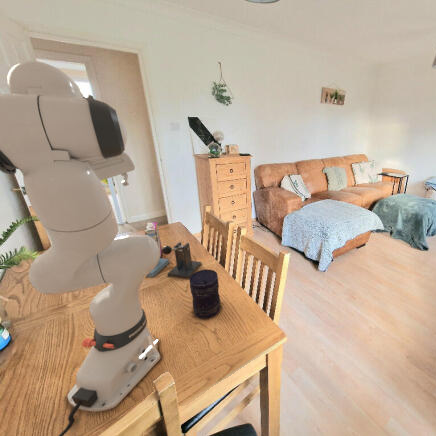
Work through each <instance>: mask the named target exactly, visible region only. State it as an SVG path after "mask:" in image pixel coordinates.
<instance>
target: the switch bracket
mask: <svg viewBox="0 0 436 436" xmlns="http://www.w3.org/2000/svg"><path fill="white" fill-rule="evenodd" d="M179 245H182V242H181V241H178V243H175V245H174V246H173V248H177V247H178V246H179ZM174 257H175V263H176V265H175V266H174V267H172V269H171V270H170V271H168V273H167V276H168V277H171V278H178V279H179V278H180V279H186V280H188V279H190V277H191V275H192V274H194V273H195V272H197V270H198V269H199V268H200V267H201V265H202V261H198V260H192V253H191V246H190V242H186V243H185V244H184V246H183V247H182V251H178V250H175V251H174Z"/></svg>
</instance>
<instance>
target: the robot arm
mask: <svg viewBox="0 0 436 436" xmlns="http://www.w3.org/2000/svg"><path fill="white" fill-rule="evenodd" d="M6 83H7V87H8V90H9V92H10V93H1V94H0V172H2V173H4V174H7V175H12V176H13V175H15V174H16V173H17V170H19V171H20V173H22V177H23V186H24V189H25V192H26V196H27V199H28V202H29V204H30V206H31V208H32V210H33V212H34V215H35V216H36V218H37V219H38V221H39V222H40V224H41V225H42V227H43V228H44V230H45V231H46V233H47V235H48V236H49V239H50V241H51V246H50V247H49V248H48V249H46V250H45V251H44V252H43V253H41V254H39V255H38V256H36V257H35V258H34V260H33V261H32V262H31V264H30V266H29V270H28V280H29V282H30V284H31V286H32V288H34V289H35V290H36V291H37V292H39V293H41V294H43V295H46V296H53V295H61V294H70V293H76V292H79V291H83V290H87V289H91V288H94V287H95V288H96V287H99V286H103V285H106V284H108V285H107V286H106V287H104V288H103V289H101V290H100V291H98V293H96V295H94V297H93V298H92V300H91V301H90V303H89V307H88V312H89V315H90V317H91V320H92V324H93V325H94V329H93V330H94V331H93V338H89V337H86V338H85V339H83V340H82V343H81V346H82V347H84V348H90V350H89V351H88V353H87V355H86V356H85V358H84V360H83V361H82V363H81V365H80V367H79V369H78V371H76V375H75V384H74V385H73V387H72V388H71V389H70V391H68V394H67V401H68V403H69V404H70V406H72V407H73V408H72V409H71V411H70V412H69V415H68V418H67V420H68V424H67V426H66V427H65V428H64V430H63V431H62V432H61V433H59V435H58V436H64V435H65V434H66V433H67V432H68V431H70V429H71V428H72V426H73V425H74V423H75V420H76V419H75V414H76V412H77V411H78V410H81V411H86V412H104V411H108V410H112V409H113V408H115V407H117V406H118V405H119V404H120V403H121V402H122V401H123V400H124V399H125V397H126V396H127V395H128V394H129V393H130V392H131V391H132V390H133V389H134V388H135V387H136V386H137V385H138V383H139V382H141V381H142V379H143V378H144V377H145V376H146V375H147V374H148V373H149V372H150V371H151V370H152V368H154V366H155V365H156V364H157V363H158V362H159V361H160V360H161V354H160V352H159V350H158V349H159V348H158V345H159V344H158V341H159V339H156V338H155V337H154V336H153V334H152V333H151V331H150V329H149V326H148V320H147V319H148V318H147V316H146V311H145V310H144V308H143V307H142V302H141V296H140V295H141V294H140V291H141V287H142V284H143V282H144V280H145V278H146V277H148V276H147V275H148V274H149V273H150V272H151V271H152V270H153V269H154V268H155V267H156V266H157V264H158V262H159V259H160V248H159V245H158V244H157V242H156V241H155V240H154V239H153V238H151V237H150V236H148V235H146V234H140V235H139V234H137V235H136V234H135V235H134V234H133V235H132V234H131V235H124V236H119V237H117V235H118V233H119V223H118V220H117V217H116V215H115V211H114V208H113V205H112V203H111V200H110V197H109V194H108V192H107V190H106V189H105V187H104V185H103V183H102V182H101V181H104V180H107V179H110V178H113V177H117V176H120V175H121V176H122V177H123V180H122V181H121V184H122V186H123V187H127V186H129V182H128V179H129V177H128V176H129V174H128V173H129V172H132V171H135V169H136V166H135V164H134V162H133V160H132V158H131V157H130V156H129V154H127V152H125V150H126V148H125V147H126V145H127V142H128V141H127V140H128V132H127V128H126V126H125V123H124V121H123V120H122V118H121V116H120V115H119V114H118V113H117V111H116V109H115V108H113V107H112V106H111V105H110V104H108V103H106V102H104V101H101V100H98V99H96V98H94V96H93V95H91V94H88V97H86V95H85V93H84V91H82V89H81V88H80V86H79V85H78V84H77V83H76V82H75V81H74V80H73V79H72V78H71V77H70V76H69V75H67V74H66V73H65V72H63V71H62V70H60V69H59V68H57V67H55V66H54V65H52V64H50V63H45V62H42V61H38V60H25V61H20V62H18V63H16V64H14V65H13V66H12V67H11V68H10V69H9V70H8V73H7V76H6Z"/></svg>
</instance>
